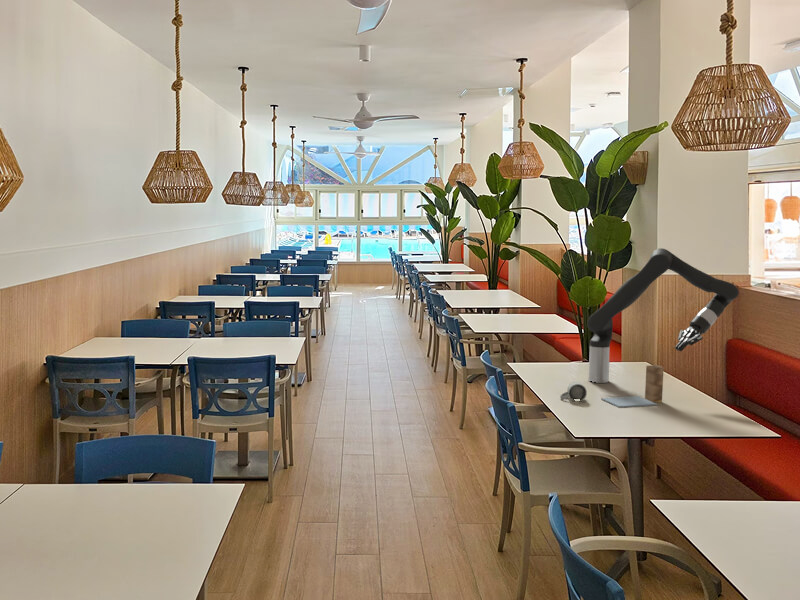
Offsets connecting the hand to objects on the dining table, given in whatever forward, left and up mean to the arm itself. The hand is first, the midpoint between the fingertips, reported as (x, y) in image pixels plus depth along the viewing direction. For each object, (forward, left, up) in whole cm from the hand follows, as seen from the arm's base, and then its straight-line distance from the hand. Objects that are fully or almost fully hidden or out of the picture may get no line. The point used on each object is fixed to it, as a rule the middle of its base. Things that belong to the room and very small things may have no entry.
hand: (677, 349), depth 310 cm
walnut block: (+9, -5, -22) cm, 24 cm away
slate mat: (+20, -11, -22) cm, 32 cm away
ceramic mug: (+33, -30, -22) cm, 50 cm away
